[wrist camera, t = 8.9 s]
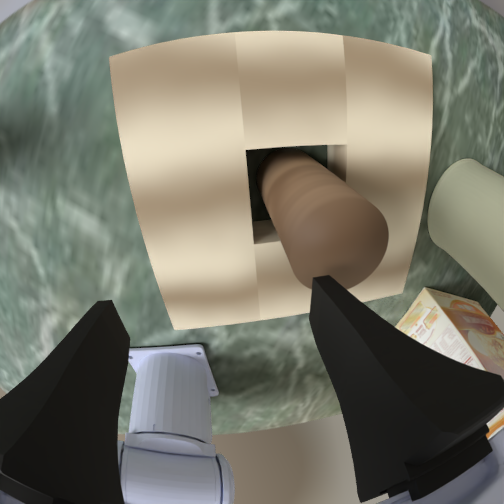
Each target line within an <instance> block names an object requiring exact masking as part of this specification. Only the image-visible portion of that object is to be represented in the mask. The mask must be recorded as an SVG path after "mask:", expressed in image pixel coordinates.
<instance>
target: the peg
mask: <svg viewBox="0 0 504 504" xmlns="http://www.w3.org/2000/svg"><path fill="white" fill-rule="evenodd" d="M256 181H257V186H258V189H259V192H260V194H261V196H262V199H263V201H264V203H265V206H266V208H267V210H268V213H269V215H270V217H271V220H272V222H273V224H274V227H275V229H276V231H277V234H278V236H279V239H280V241H281V243H282V246H283V248H284V251H285V253H286V255H287V258H288V260H289V263H290V265H291V268H292V270H293V273H294V275H295V276H296V278H297V279H298V280H299V282H300V283H302V284H303V285H304V286H305V287H307V288H309V289H311V290H312V280H313V277H319V276H325V275H330V276H331V277H332V278H334V279H335V280H336V281H337V282H338V283H339V284H341V285H342V286H343V287H344V288H345V289H350V288H352V287H354V286H356V285H358V284H359V283H361V282H362V281H364V280H365V279H366V278H368V277H369V276H370V275H371V274H372V273H373V272H374V271H375V269H376V268H377V267H378V266H379V264H380V263H381V261H382V259H383V257H384V255H385V252H386V250H387V246H388V240H389V231H388V225H387V222H386V220H385V217H384V216H383V214H382V213H381V212H380V210H379V209H378V208H377V207H375V206H374V205H373V204H372V203H371V202H369V201H368V200H367V199H366V198H364V197H363V196H362V195H361V194H359V193H358V192H357V191H356V190H354V189H353V188H352V187H351V186H349V185H348V184H347V183H345V182H344V181H343V180H341V179H340V178H339V177H337V176H336V175H335V174H333V173H332V172H331V171H329V170H328V169H327V168H325V167H324V166H323V165H321V164H320V163H318V162H317V161H316V160H314V159H313V158H311V157H310V156H308V155H307V154H306V153H304V152H302V151H300V150H298V149H294V148H282V149H278V150H276V151H273V152H272V153H270V154H269V155H267V156H266V157H265V158H264V160H263V161H262V162H261V164H260V166H259V168H258V171H257V176H256Z"/></svg>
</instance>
